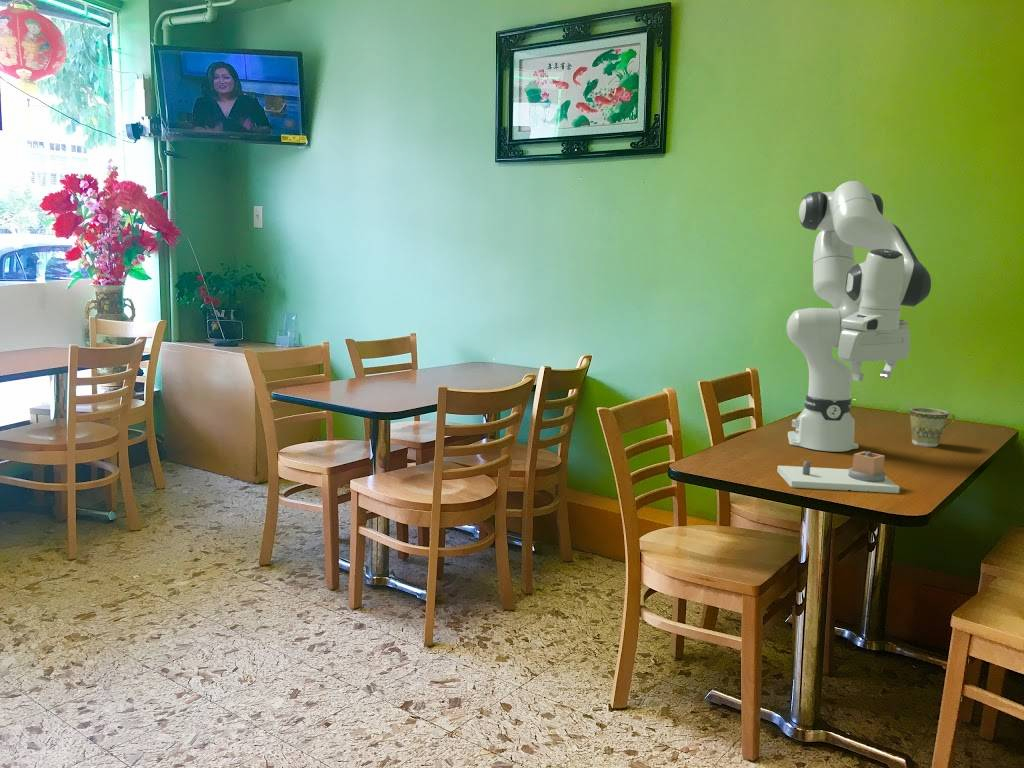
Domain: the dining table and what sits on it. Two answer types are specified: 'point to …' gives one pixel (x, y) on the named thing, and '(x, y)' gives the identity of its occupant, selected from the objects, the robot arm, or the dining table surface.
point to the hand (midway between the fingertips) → (871, 379)
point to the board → (836, 478)
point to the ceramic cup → (928, 425)
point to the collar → (868, 463)
